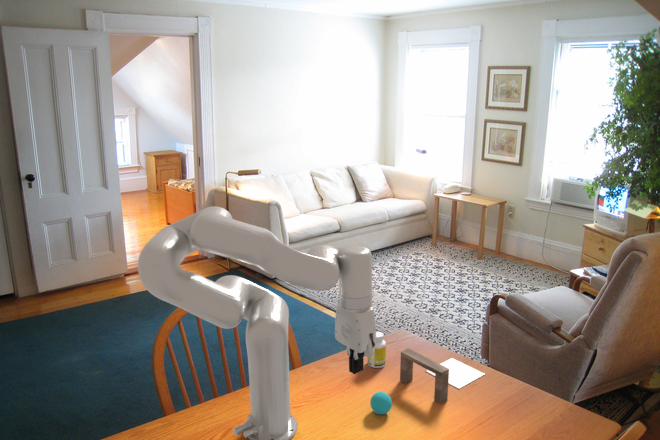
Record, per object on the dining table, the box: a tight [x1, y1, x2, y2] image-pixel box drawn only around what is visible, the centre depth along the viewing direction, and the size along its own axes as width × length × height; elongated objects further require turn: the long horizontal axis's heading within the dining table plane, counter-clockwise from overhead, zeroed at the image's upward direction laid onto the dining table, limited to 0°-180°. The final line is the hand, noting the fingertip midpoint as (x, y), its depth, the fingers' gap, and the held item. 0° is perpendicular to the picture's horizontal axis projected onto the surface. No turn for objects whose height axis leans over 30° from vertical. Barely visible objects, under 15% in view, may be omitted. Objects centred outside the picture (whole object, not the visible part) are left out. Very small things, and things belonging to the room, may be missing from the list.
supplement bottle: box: [367, 330, 387, 369], centre depth 157 cm, size 5×5×10 cm
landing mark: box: [425, 357, 486, 390], centre depth 153 cm, size 12×12×1 cm
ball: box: [370, 391, 393, 415], centre depth 134 cm, size 6×6×6 cm
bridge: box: [399, 348, 449, 405], centre depth 143 cm, size 3×14×9 cm, turn 39°
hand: (356, 370), depth 125 cm, fingers closed
